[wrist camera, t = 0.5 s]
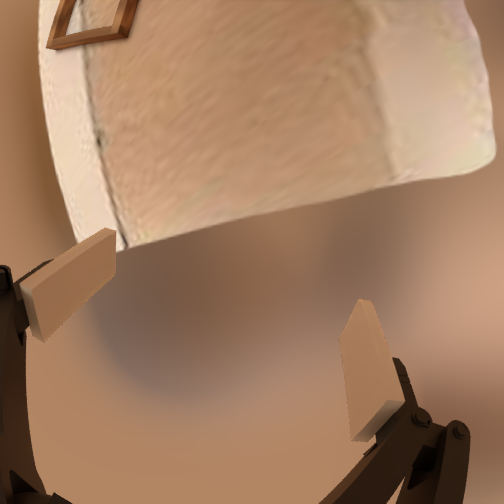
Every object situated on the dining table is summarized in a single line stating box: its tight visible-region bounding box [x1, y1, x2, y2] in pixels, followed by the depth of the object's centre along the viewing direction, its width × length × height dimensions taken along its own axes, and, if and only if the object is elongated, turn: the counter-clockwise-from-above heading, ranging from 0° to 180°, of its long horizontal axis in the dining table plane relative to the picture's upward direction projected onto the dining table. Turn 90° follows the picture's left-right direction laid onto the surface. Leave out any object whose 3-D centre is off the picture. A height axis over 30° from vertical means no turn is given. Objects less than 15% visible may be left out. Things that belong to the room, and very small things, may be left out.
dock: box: [46, 0, 138, 50], centre depth 29 cm, size 12×17×3 cm
